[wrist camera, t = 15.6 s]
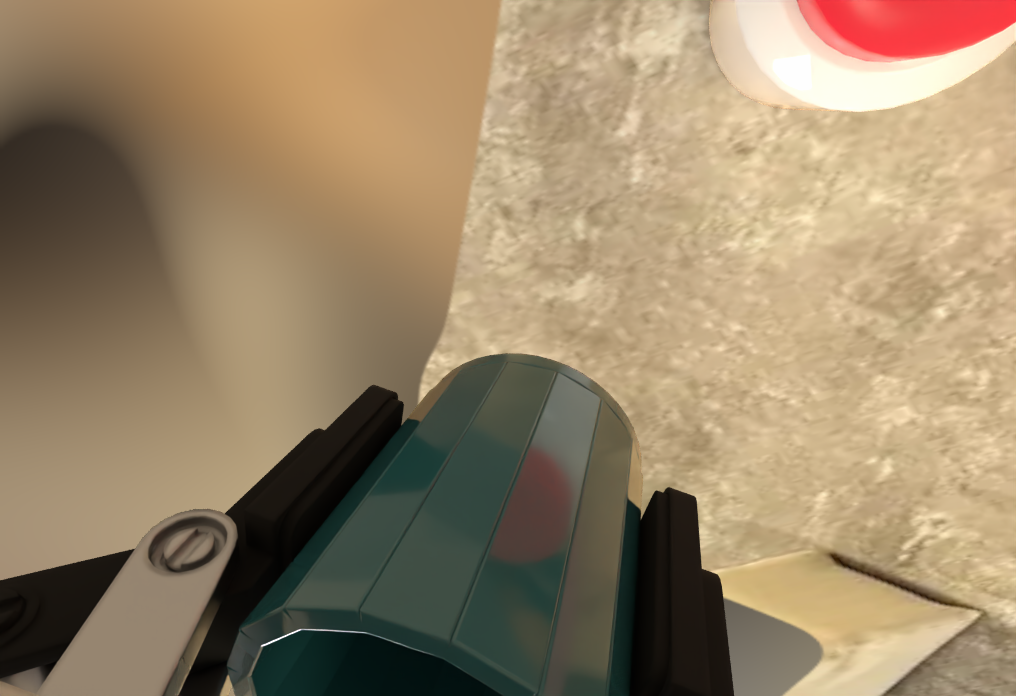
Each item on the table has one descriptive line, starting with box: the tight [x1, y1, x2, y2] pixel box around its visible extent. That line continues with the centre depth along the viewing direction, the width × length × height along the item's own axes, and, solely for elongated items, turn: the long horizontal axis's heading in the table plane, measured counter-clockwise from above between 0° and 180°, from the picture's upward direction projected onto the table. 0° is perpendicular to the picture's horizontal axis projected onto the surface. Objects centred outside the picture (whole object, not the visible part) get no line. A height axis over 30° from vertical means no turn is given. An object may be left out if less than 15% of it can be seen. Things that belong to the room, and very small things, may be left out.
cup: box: [226, 353, 643, 696], centre depth 9 cm, size 5×5×6 cm
